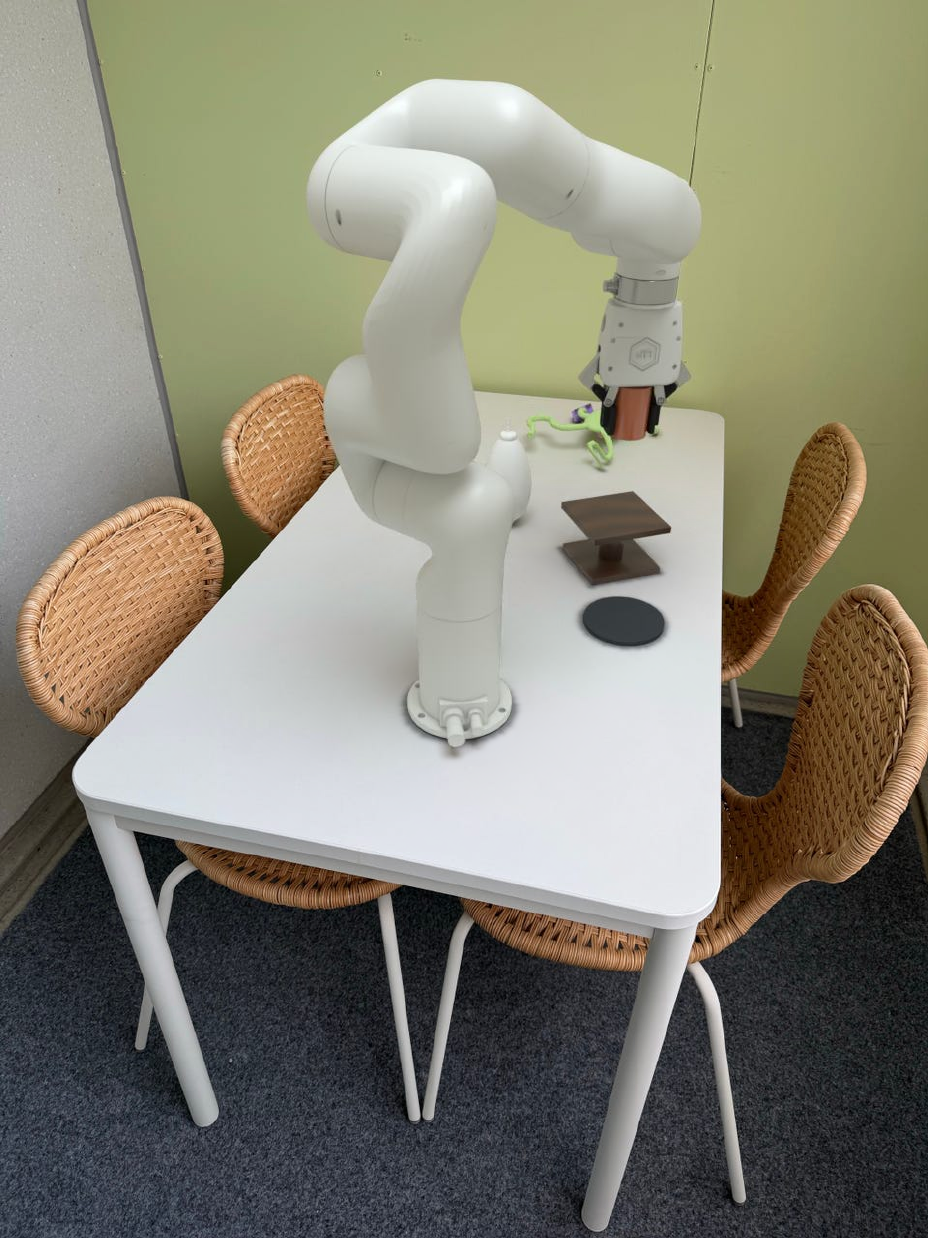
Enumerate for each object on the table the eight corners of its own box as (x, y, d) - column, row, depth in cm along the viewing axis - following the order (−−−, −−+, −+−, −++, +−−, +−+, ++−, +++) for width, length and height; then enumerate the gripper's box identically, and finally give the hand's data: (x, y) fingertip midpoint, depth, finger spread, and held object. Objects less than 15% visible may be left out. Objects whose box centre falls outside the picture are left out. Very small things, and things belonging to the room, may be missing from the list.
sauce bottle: (528, 509, 145) (533, 406, 135) (530, 533, 139) (535, 426, 129) (482, 509, 146) (483, 406, 135) (481, 532, 139) (483, 426, 129)
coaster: (674, 643, 115) (675, 639, 114) (592, 648, 114) (593, 644, 114) (651, 597, 124) (651, 594, 123) (575, 601, 123) (575, 598, 123)
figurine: (511, 448, 166) (512, 421, 162) (589, 408, 182) (591, 382, 179) (593, 476, 156) (595, 447, 153) (667, 430, 172) (671, 403, 169)
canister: (650, 440, 114) (657, 388, 111) (614, 441, 114) (620, 389, 110) (640, 426, 118) (646, 375, 114) (605, 427, 118) (611, 377, 114)
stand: (664, 574, 129) (671, 527, 124) (590, 587, 126) (595, 539, 121) (627, 536, 138) (633, 490, 134) (557, 547, 135) (561, 501, 131)
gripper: (583, 298, 102) (571, 444, 112) (723, 296, 103) (698, 439, 114) (570, 283, 108) (559, 422, 118) (702, 280, 110) (680, 418, 120)
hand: (628, 429), depth 116 cm, fingers closed on canister, 4 cm apart
